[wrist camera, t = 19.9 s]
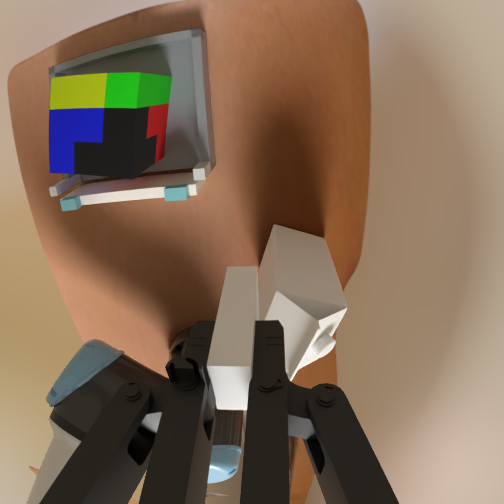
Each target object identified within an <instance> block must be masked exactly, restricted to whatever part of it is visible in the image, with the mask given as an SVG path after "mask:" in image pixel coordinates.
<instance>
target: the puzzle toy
mask: <svg viewBox="0 0 504 504" xmlns="http://www.w3.org/2000/svg"><path fill="white" fill-rule="evenodd" d="M171 83H172V76H165V75H158V74H150V73H141V72H127V73H100V74H85V75H73V76H63V77H54V78H52V80H51V93H50V113H49V162H50V173H65V174H79V175H91V176H103V177H114V178H124V179H134V178H135V177H136V176H138V175H139V174H141V173H142V172H143V171H145V170H146V169H148V168H149V167H151V166H152V165H154V164H155V163H156V162H158V161H159V160H161V159H162V158H164V152H165V140H166V128H167V118H168V108H169V99H170V91H171Z"/></svg>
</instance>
